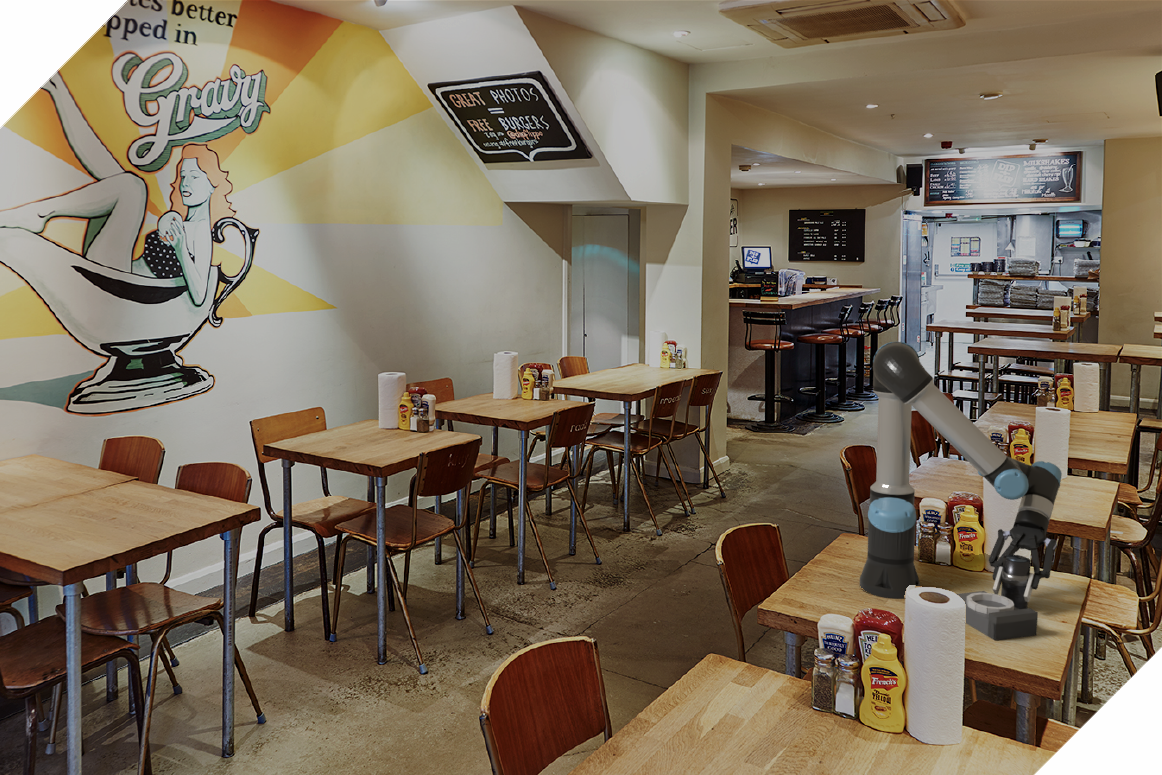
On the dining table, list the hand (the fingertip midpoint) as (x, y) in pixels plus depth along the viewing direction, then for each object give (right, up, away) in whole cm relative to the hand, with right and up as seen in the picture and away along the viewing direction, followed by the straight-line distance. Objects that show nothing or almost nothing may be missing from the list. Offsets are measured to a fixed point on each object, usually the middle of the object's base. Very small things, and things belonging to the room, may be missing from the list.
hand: (1010, 595), depth 209 cm
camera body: (-8, -5, -5) cm, 11 cm away
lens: (+2, -3, +3) cm, 5 cm away
